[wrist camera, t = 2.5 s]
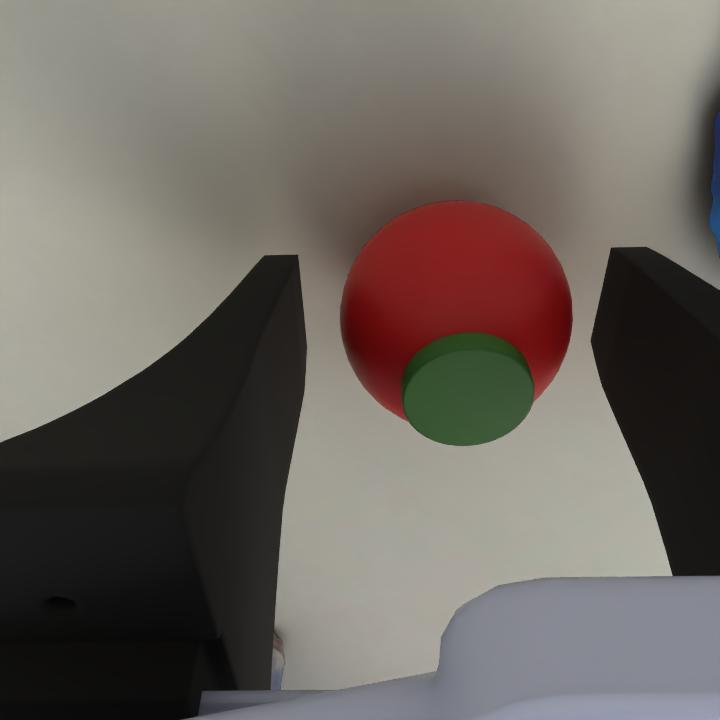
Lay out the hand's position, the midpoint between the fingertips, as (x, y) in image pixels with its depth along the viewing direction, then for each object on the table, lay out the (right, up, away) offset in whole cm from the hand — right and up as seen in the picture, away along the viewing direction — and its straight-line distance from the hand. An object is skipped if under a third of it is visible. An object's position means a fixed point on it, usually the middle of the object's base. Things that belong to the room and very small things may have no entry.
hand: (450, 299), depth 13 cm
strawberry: (0, +1, +1) cm, 1 cm away
